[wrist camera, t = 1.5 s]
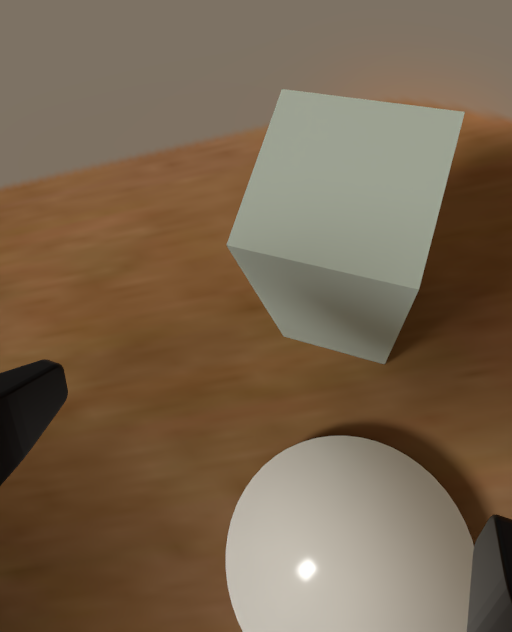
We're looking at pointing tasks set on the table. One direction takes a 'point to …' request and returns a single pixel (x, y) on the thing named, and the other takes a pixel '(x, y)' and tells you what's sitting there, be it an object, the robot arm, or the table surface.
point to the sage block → (344, 216)
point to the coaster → (348, 544)
